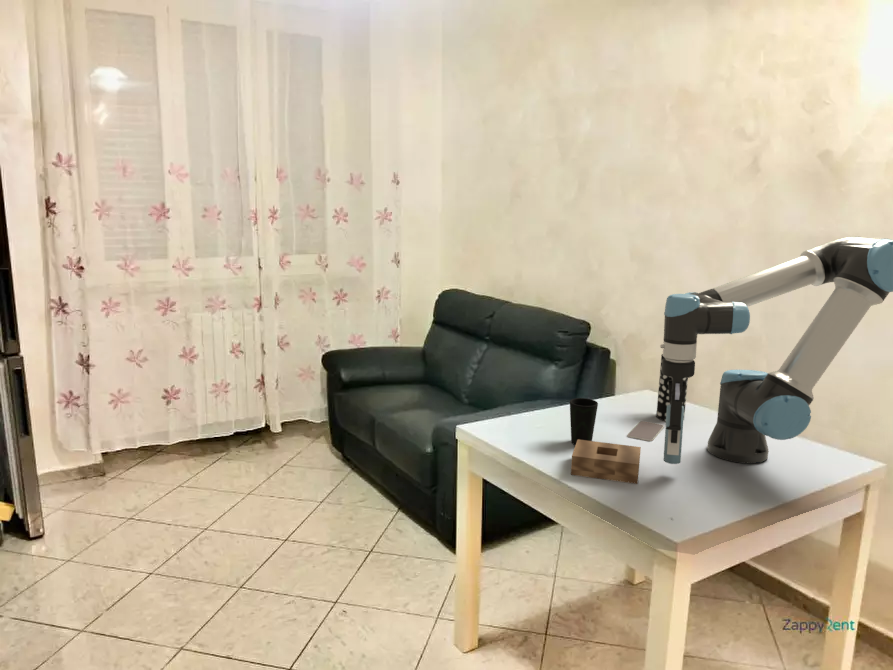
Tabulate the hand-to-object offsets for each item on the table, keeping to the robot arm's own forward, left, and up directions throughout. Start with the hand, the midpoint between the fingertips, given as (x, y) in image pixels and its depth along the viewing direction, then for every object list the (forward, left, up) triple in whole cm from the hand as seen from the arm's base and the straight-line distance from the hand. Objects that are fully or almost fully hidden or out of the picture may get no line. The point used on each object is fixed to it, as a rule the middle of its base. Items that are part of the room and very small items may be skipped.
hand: (672, 450), depth 164 cm
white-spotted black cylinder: (0, -47, -7) cm, 47 cm away
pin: (0, 0, -3) cm, 3 cm away
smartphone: (+7, -31, -7) cm, 32 cm away
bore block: (+16, +2, -6) cm, 17 cm away
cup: (+24, -15, -7) cm, 29 cm away
